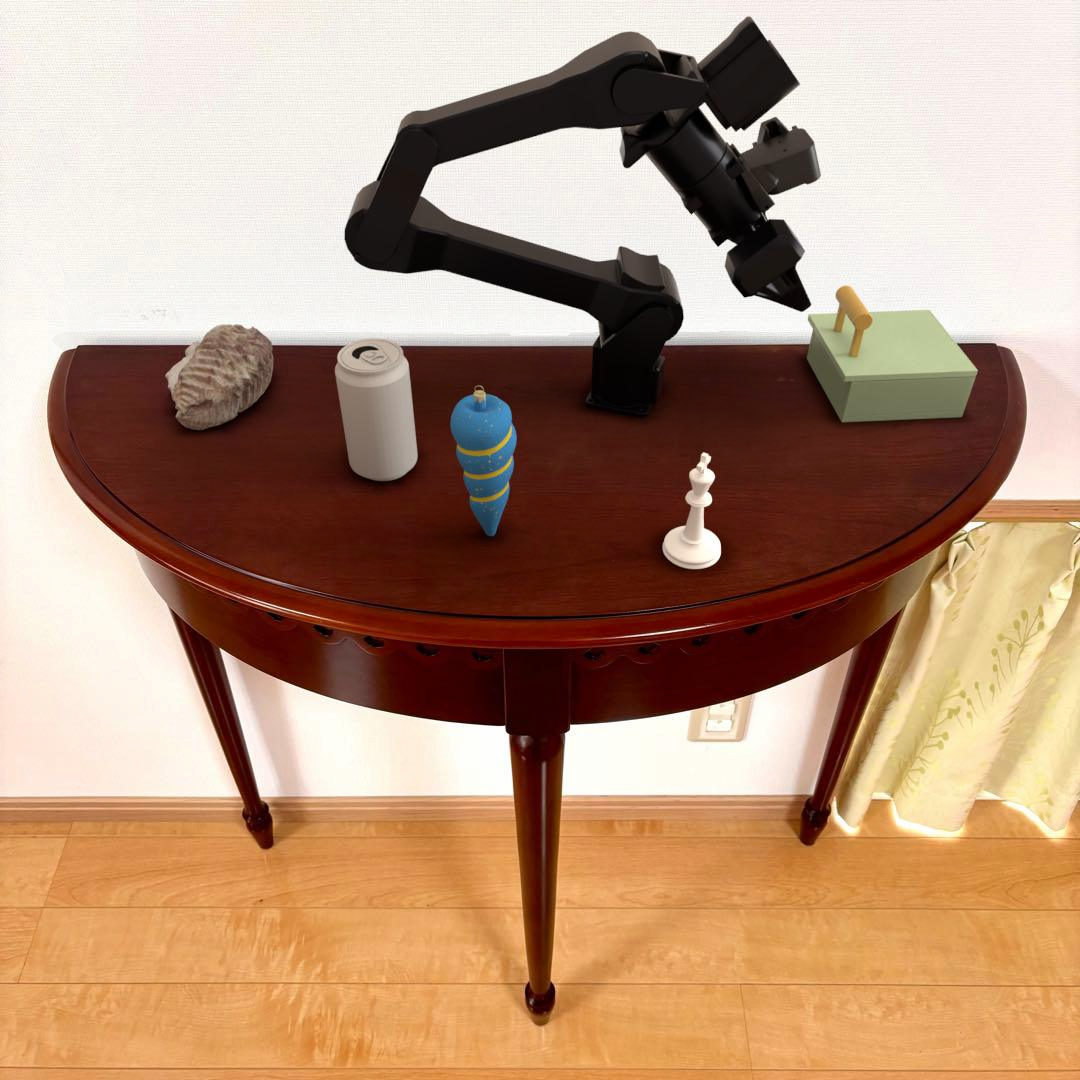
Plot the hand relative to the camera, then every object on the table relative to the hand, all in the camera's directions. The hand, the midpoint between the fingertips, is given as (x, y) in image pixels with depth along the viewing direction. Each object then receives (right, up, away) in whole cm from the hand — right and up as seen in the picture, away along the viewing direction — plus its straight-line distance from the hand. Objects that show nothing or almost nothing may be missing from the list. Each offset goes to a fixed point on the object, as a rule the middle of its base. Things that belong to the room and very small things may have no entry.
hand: (794, 285), depth 92 cm
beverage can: (-39, -18, -1) cm, 43 cm away
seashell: (-57, -10, +8) cm, 58 cm away
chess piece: (-12, -25, -10) cm, 30 cm away
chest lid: (+11, -5, +6) cm, 13 cm away
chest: (+12, -8, +9) cm, 17 cm away
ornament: (-29, -24, -9) cm, 39 cm away
